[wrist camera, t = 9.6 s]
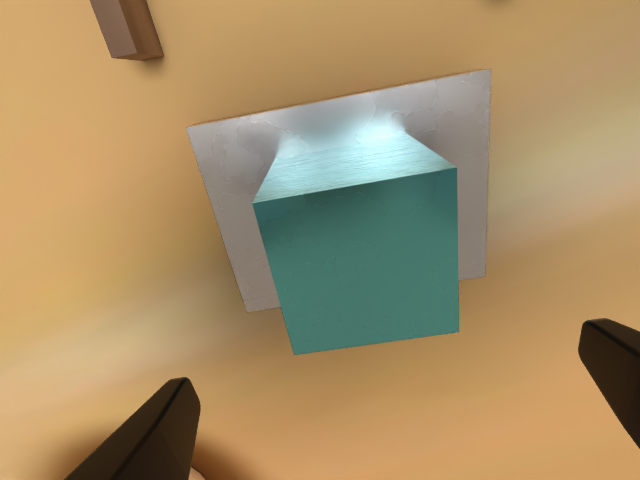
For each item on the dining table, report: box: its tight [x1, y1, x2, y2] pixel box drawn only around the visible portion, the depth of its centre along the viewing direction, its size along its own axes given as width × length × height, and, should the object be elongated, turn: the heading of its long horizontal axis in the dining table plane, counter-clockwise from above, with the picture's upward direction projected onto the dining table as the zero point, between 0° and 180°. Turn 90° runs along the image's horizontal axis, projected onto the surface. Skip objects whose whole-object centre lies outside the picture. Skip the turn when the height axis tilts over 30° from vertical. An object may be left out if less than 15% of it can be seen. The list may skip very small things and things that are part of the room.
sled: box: [186, 69, 491, 355], centre depth 15 cm, size 13×10×7 cm
